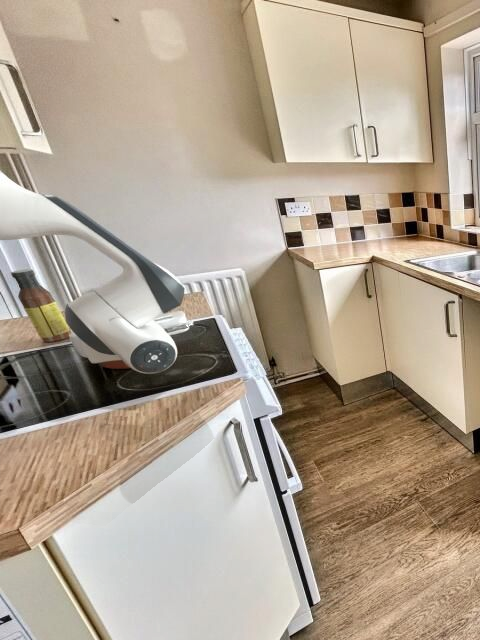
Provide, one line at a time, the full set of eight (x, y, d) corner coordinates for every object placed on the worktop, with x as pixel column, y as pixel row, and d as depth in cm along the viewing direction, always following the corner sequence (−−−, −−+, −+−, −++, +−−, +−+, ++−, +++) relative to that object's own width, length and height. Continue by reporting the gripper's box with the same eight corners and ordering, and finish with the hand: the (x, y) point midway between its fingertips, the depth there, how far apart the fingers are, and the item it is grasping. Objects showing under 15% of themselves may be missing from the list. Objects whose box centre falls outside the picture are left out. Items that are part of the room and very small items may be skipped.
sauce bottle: (73, 333, 124) (43, 266, 116) (71, 339, 119) (40, 270, 111) (42, 339, 120) (8, 270, 112) (38, 345, 115) (3, 274, 108)
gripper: (191, 311, 97) (176, 300, 105) (68, 337, 83) (62, 322, 91) (200, 336, 99) (184, 323, 108) (81, 366, 85) (75, 348, 94)
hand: (128, 323), depth 99 cm, fingers open, 8 cm apart
